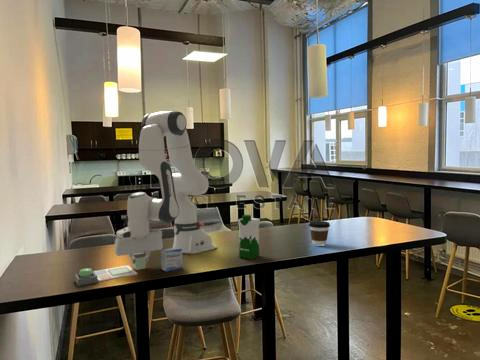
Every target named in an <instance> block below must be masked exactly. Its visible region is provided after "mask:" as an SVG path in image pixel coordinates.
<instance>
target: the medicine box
mask: <svg viewBox="0 0 480 360" xmlns="http://www.w3.org/2000/svg"><path fill="white" fill-rule="evenodd" d="M160 263H161V270H163V271H164V272H171V271H176V270H180V269H183V253H182V249H181V248H179V247H174V248H173V247H169V248H164V249H163V248H162V249H161V250H160Z"/></svg>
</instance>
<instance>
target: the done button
mask: <svg viewBox="0 0 480 360" xmlns="http://www.w3.org/2000/svg"><path fill="white" fill-rule="evenodd" d="M92 271H93V269H92V268H89V267H88V268H87V267H86V268H82V269H79V274H80V278H85V277H91V276H92Z"/></svg>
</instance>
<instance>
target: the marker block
mask: <svg viewBox="0 0 480 360" xmlns="http://www.w3.org/2000/svg"><path fill="white" fill-rule="evenodd" d="M132 258H133V259H135V260H136V264H133V268H134V270H136V271H140V270H144V269H147V262H146V253H145V252H141V253H135V254H133V256H132Z"/></svg>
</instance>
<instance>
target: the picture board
mask: <svg viewBox="0 0 480 360" xmlns="http://www.w3.org/2000/svg"><path fill="white" fill-rule="evenodd" d="M93 271H94V272H95V273H96V275H97V277H98V282H99V283H100V282H104V281H109V280H110V281H111V280H115V279H116V280H117V279H120V278H126V277H131V276H137V275H138V272H137V271H135V269H133V268H132V267H131V266H130V265H128V264H127V265H122V266H116V267H110V268H105V269H100V270H93Z"/></svg>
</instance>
